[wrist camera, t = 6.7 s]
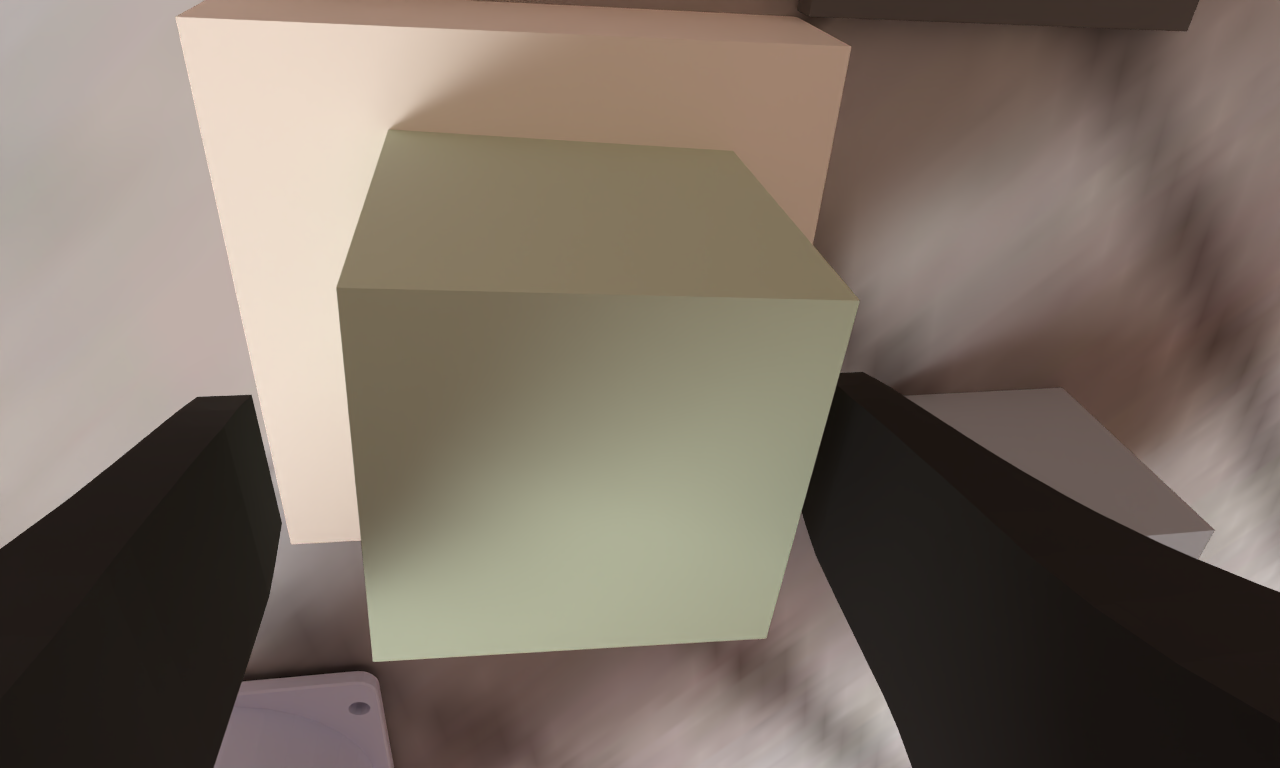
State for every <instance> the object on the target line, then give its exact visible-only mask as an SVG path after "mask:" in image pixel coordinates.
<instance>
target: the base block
mask: <svg viewBox="0 0 1280 768" xmlns="http://www.w3.org/2000/svg"><path fill="white" fill-rule="evenodd" d="M176 22H177V26H178V31H179V36H180V40H181V45H182V49H183V54H184V58H185V63H186V67H187V72H188V77H189V81H190V86H191V90H192V95H193V99H194V104H195V109H196V113H197V118H198V122H199V127H200V131H201V136H202V140H203V145H204V150H205V154H206V159H207V163H208V168H209V172H210V177H211V182H212V186H213V191H214V195H215V200H216V204H217V209H218V213H219V218H220V223H221V227H222V232H223V236H224V241H225V245H226V250H227V254H228V259H229V264H230V268H231V273H232V277H233V282H234V286H235V291H236V296H237V300H238V305H239V309H240V314H241V318H242V323H243V327H244V332H245V337H246V341H247V346H248V350H249V355H250V359H251V364H252V369H253V373H254V378H255V382H256V387H257V391H258V396H259V400H260V405H261V410H262V414H263V419H264V423H265V428H266V432H267V437H268V441H269V446H270V451H271V455H272V460H273V464H274V469H275V473H276V478H277V483H278V487H279V492H280V496H281V501H282V505H283V510H284V514H285V519H286V524H287V528H288V533H289V537H290V542H291V544H307V543H324V542H342V541H359V540H361V536H360V526H359V515H358V505H357V495H356V485H355V475H354V464H353V454H352V444H351V434H350V424H349V413H348V403H347V393H346V383H345V373H344V362H343V352H342V342H341V332H340V322H339V311H338V301H337V291H336V287H337V284H338V281H339V278H340V275H341V272H342V269H343V266H344V263H345V260H346V256H347V253H348V250H349V247H350V244H351V241H352V238H353V235H354V232H355V229H356V226H357V223H358V220H359V217H360V214H361V211H362V208H363V205H364V202H365V199H366V196H367V193H368V190H369V187H370V184H371V181H372V178H373V175H374V171H375V168H376V165H377V162H378V159H379V156H380V153H381V150H382V147H383V144H384V141H385V138H386V135H387V132H388V129H389V130H405V131H421V132H437V133H453V134H470V135H486V136H502V137H518V138H534V139H550V140H566V141H582V142H598V143H614V144H630V145H646V146H662V147H678V148H694V149H710V150H726V151H734V152H735V154H736V155H737V156H738V157H739V158H740V160H741V161H742V162H743V163H744V164H745V165H746V167H747V168H748V169H749V170H750V171H751V173H752V174H753V175H754V176H755V177H756V178H757V180H758V181H759V182H760V183H761V184H762V186H763V187H764V188H765V189H766V190H767V191H768V193H769V194H770V195H771V196H772V197H773V199H774V200H775V201H776V202H777V203H778V204H779V206H780V207H781V208H782V209H783V210H784V212H785V213H786V214H787V215H788V216H789V217H790V219H791V220H792V221H793V222H794V223H795V225H796V226H797V227H798V228H799V229H800V230H801V232H802V233H803V234H804V235H805V236H806V238H807V239H808V240H809V241H810V242H811V243H812V245H813V242H814V236H815V231H816V226H817V221H818V216H819V211H820V206H821V201H822V196H823V190H824V185H825V180H826V175H827V170H828V165H829V160H830V155H831V149H832V144H833V139H834V134H835V129H836V124H837V119H838V114H839V108H840V103H841V98H842V93H843V88H844V83H845V78H846V73H847V68H848V62H849V57H850V52H851V46H849V45H848V44H846V43H844V42H842V41H840V40H838V39H837V38H835V37H833V36H831V35H829V34H827V33H826V32H824V31H822V30H820V29H818V28H816V27H814V26H813V25H811V24H809V23H807V22H805V21H803V20H802V19H800V18H798V17H795V16H775V15H755V14H735V13H715V12H695V11H675V10H655V9H635V8H615V7H595V6H575V5H554V4H534V3H514V2H494V1H474V0H205V1H203V2H201V3H200V4H198V5H196V6H194V7H192V8H191V9H189V10H187V11H185V12H183V13H181V14H180V15H178V16H176Z"/></svg>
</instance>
